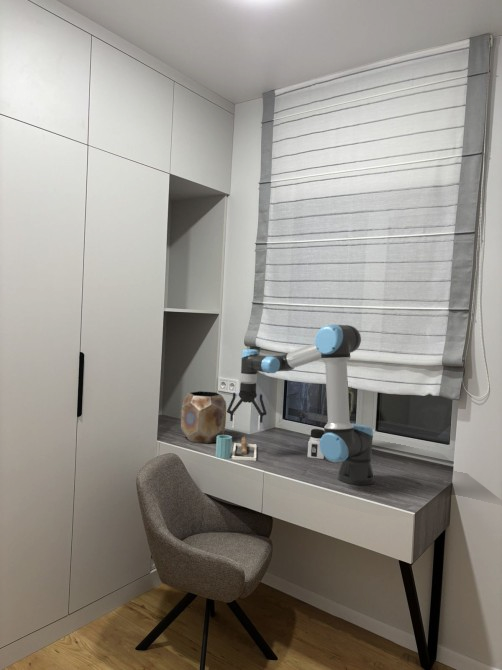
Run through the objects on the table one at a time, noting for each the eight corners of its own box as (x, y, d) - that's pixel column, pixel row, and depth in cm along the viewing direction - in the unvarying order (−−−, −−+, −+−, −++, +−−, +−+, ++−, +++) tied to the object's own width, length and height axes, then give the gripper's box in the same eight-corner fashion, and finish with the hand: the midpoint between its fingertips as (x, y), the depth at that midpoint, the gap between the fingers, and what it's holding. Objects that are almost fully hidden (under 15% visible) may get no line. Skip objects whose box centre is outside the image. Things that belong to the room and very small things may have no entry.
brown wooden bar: (247, 450, 240) (246, 430, 258) (241, 450, 240) (241, 430, 258) (246, 461, 242) (246, 440, 260) (241, 461, 242) (241, 440, 260)
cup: (230, 461, 233) (231, 439, 233) (214, 460, 233) (216, 438, 233) (231, 456, 240) (232, 435, 240) (216, 455, 240) (217, 434, 240)
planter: (174, 434, 275) (176, 390, 274) (217, 433, 285) (220, 390, 284) (186, 445, 255) (188, 398, 254) (232, 443, 264) (234, 397, 263)
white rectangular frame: (255, 462, 232) (256, 458, 232) (231, 461, 233) (231, 456, 232) (256, 448, 256) (256, 444, 256) (234, 447, 257) (234, 443, 256)
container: (323, 459, 244) (325, 432, 244) (307, 457, 246) (309, 430, 245) (324, 455, 252) (326, 428, 251) (308, 453, 254) (310, 427, 253)
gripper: (273, 382, 244) (270, 428, 245) (223, 379, 245) (221, 425, 246) (273, 385, 237) (271, 432, 238) (222, 382, 237) (220, 429, 238)
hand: (245, 428), depth 242 cm, fingers open, 11 cm apart
